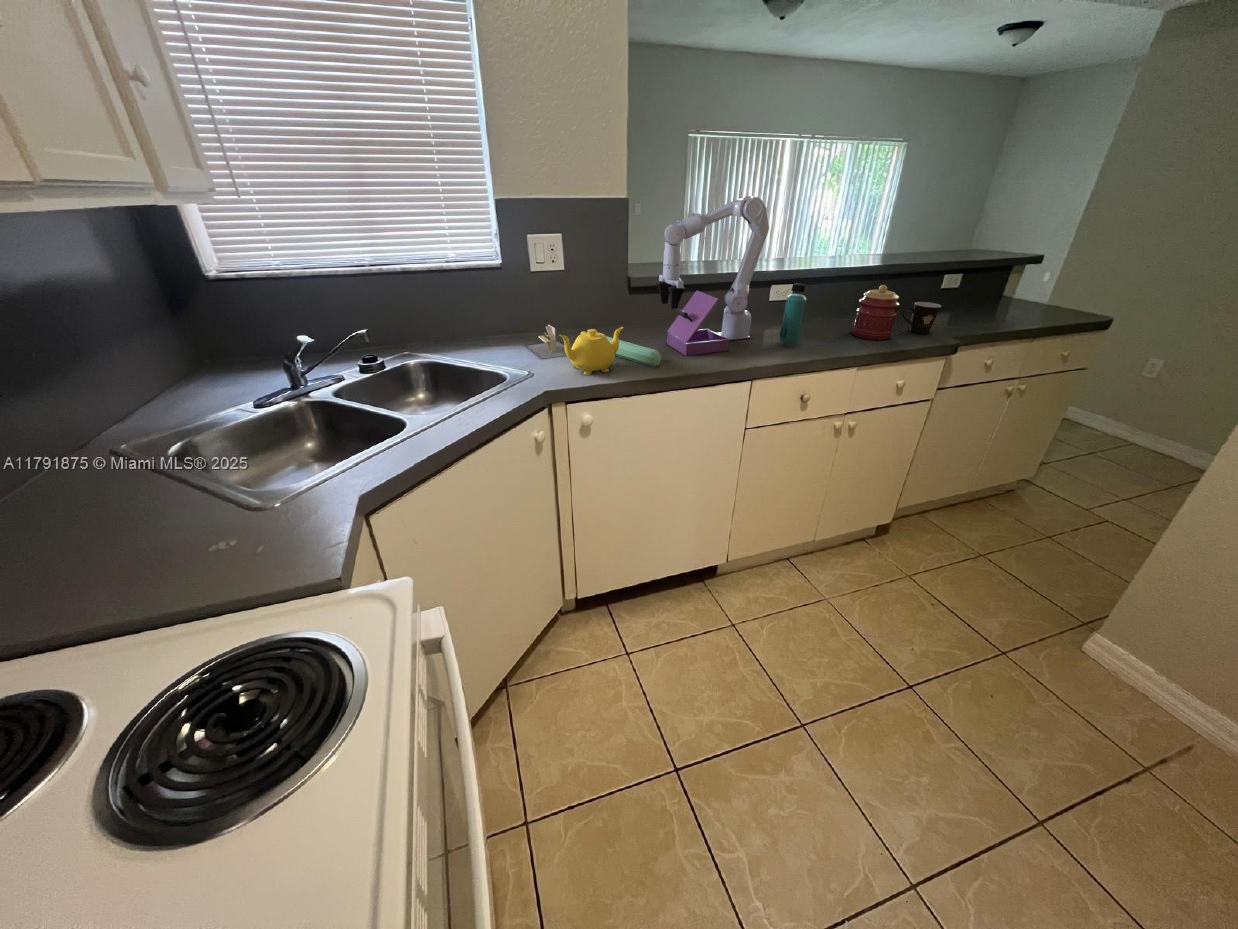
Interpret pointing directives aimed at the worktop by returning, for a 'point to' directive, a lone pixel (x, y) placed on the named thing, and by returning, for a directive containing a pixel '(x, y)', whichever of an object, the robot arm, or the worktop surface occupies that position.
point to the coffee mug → (922, 317)
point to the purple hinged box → (692, 315)
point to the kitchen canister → (876, 314)
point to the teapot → (592, 350)
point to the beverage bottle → (793, 315)
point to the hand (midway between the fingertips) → (669, 305)
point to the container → (637, 353)
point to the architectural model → (548, 345)
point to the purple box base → (699, 343)
